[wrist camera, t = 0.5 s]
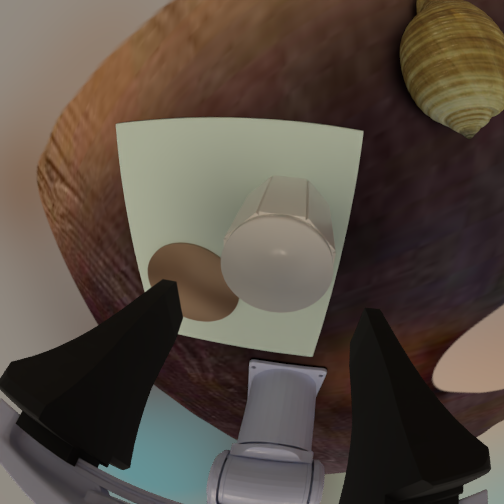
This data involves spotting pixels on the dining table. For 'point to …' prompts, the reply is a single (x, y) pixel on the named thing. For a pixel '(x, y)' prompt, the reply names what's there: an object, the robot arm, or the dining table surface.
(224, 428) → the dining table surface
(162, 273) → the coaster
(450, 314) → the dining table surface
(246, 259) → the cup
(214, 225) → the placemat
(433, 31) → the seashell
